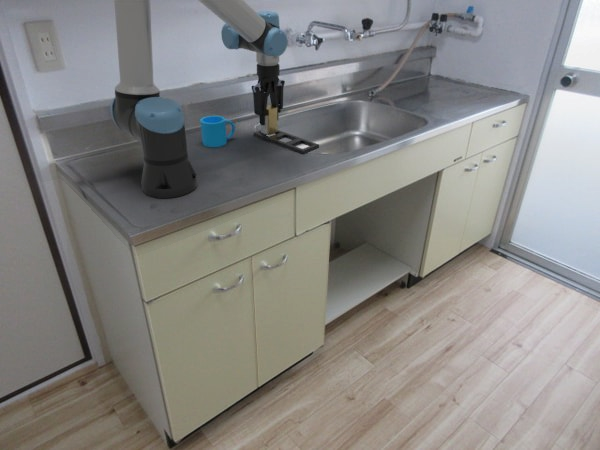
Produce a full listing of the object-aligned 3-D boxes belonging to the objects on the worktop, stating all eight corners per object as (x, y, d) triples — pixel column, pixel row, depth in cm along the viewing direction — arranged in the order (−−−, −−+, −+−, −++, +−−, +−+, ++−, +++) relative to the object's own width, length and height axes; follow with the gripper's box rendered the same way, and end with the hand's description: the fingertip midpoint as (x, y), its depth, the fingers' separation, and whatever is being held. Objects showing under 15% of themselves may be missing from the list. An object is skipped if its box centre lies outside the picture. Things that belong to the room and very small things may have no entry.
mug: (208, 149, 152) (206, 125, 148) (198, 141, 158) (196, 118, 153) (240, 142, 158) (239, 119, 153) (230, 135, 163) (228, 112, 159)
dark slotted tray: (303, 154, 149) (303, 151, 148) (253, 135, 163) (253, 132, 162) (319, 147, 154) (319, 144, 153) (269, 130, 168) (269, 127, 167)
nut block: (269, 135, 160) (268, 109, 155) (261, 132, 162) (260, 107, 157) (277, 132, 162) (277, 107, 158) (269, 129, 165) (269, 104, 160)
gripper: (256, 69, 142) (258, 140, 155) (294, 61, 153) (293, 128, 165) (240, 65, 147) (244, 134, 159) (278, 57, 157) (279, 123, 170)
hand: (269, 131), depth 162 cm, fingers closed on nut block, 4 cm apart
